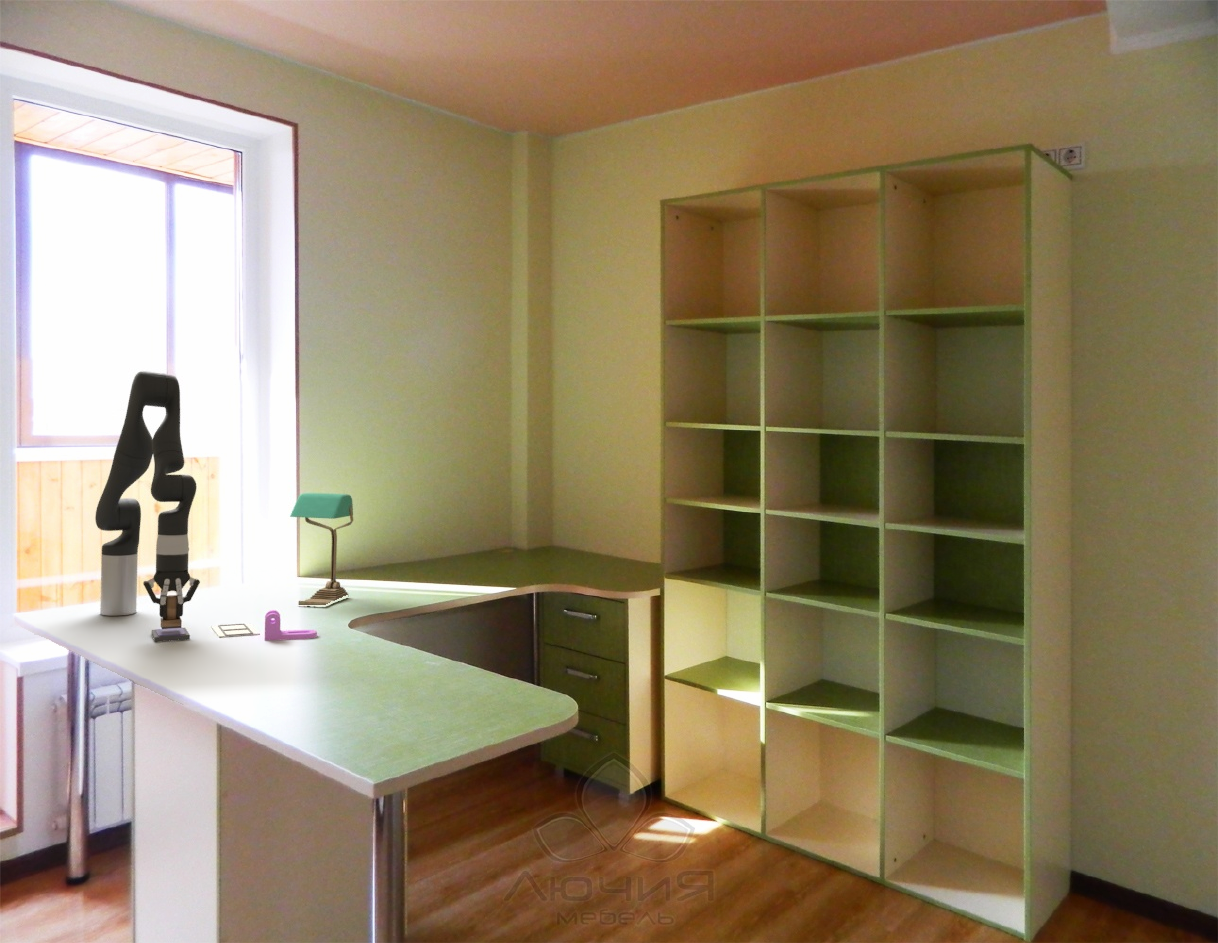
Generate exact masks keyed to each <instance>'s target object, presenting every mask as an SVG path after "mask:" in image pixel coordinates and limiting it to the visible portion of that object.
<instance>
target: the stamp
mask: <svg viewBox="0 0 1218 943" xmlns="http://www.w3.org/2000/svg"><path fill="white" fill-rule="evenodd" d="M177 603H178V598H177V595H176V594H170V595H169V594H167V597H166V602H165V605H166V619H164V620H163V619H162V617H160V629H171V628H182V617H180V619H177Z"/></svg>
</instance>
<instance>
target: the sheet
mask: <svg viewBox="0 0 1218 943" xmlns="http://www.w3.org/2000/svg"><path fill="white" fill-rule="evenodd" d="M210 628H211V629H212V630H213V631H214V633H215V634H216V636H217V637H218V636H219V637H218V638H230V637H229V636H233V637H243V635H247V636H260V632H259V631H258V630H257V629H256V628H255V627H254V625H252V624H251V623H235V624H233V623H231V624H218V625H215V626H214V625H213V626H211V627H210ZM241 635H242V636H241Z"/></svg>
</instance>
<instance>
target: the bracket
mask: <svg viewBox="0 0 1218 943" xmlns="http://www.w3.org/2000/svg"><path fill="white" fill-rule="evenodd" d="M316 636H317V637H318V631H317V630H314V629H292V630H291V629H289V630H287V629H286V630H281V614H280V612H278V610H276V609H272V610H269V611H267V612H266V613H265V616H264V641H283V639H287V640H304V639H307V638H310V639H314V637H315V638H317V637H316ZM280 639H281V640H280ZM307 640H308V639H307Z"/></svg>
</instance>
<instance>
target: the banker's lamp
mask: <svg viewBox="0 0 1218 943" xmlns="http://www.w3.org/2000/svg"><path fill="white" fill-rule="evenodd" d="M353 505H354V504H353V498H352V496H351V495H350V494H347V493H346V494H345V493H327V492H326V493H325V492H324V493H322V492H304V493H302V494H300V495H299V496H298V497H297V499H296V502H295V505H294V506H293V509H292V511H291V513H290V515H289V516H290V517H291V518H304V520H305V522H306V524H310V525H313V526H316V527H318V528H319V527H320V528H323V529H326V530H329V531H330V533H331V534H330V535H331V549H330V550H331V554H330V580H329V581H327V582H326V584H325V587H323V588H320V589H318V590H317V591H316V592H315V593H314V594H313V595H311V597H310V598H308V599H305V600H298V605H326V604H328V603H330V602H331V601H335V600H337V599H339V598H342V597H343V596H346V595H348V596H349V593H348V592H347V591H346V589H345V588H344V587H343V586H341V583H340V581H337V555H338V554H337V551H338V550H337V548H338V545H337V544H338V543H337V542H338V534H337V530H339V529H342V528H345V527H349V526H350V525H352V524H353V522H354V506H353ZM346 517H349V519H350V520H349V522H346V523H344V524H342V525H339V526H336V528H334V529H333V528H332V527H331V526H328V525H326V524H323V523H320V522H318V521H314V520H312V518H313V519H332V520H333V519H340V518H346Z"/></svg>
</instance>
